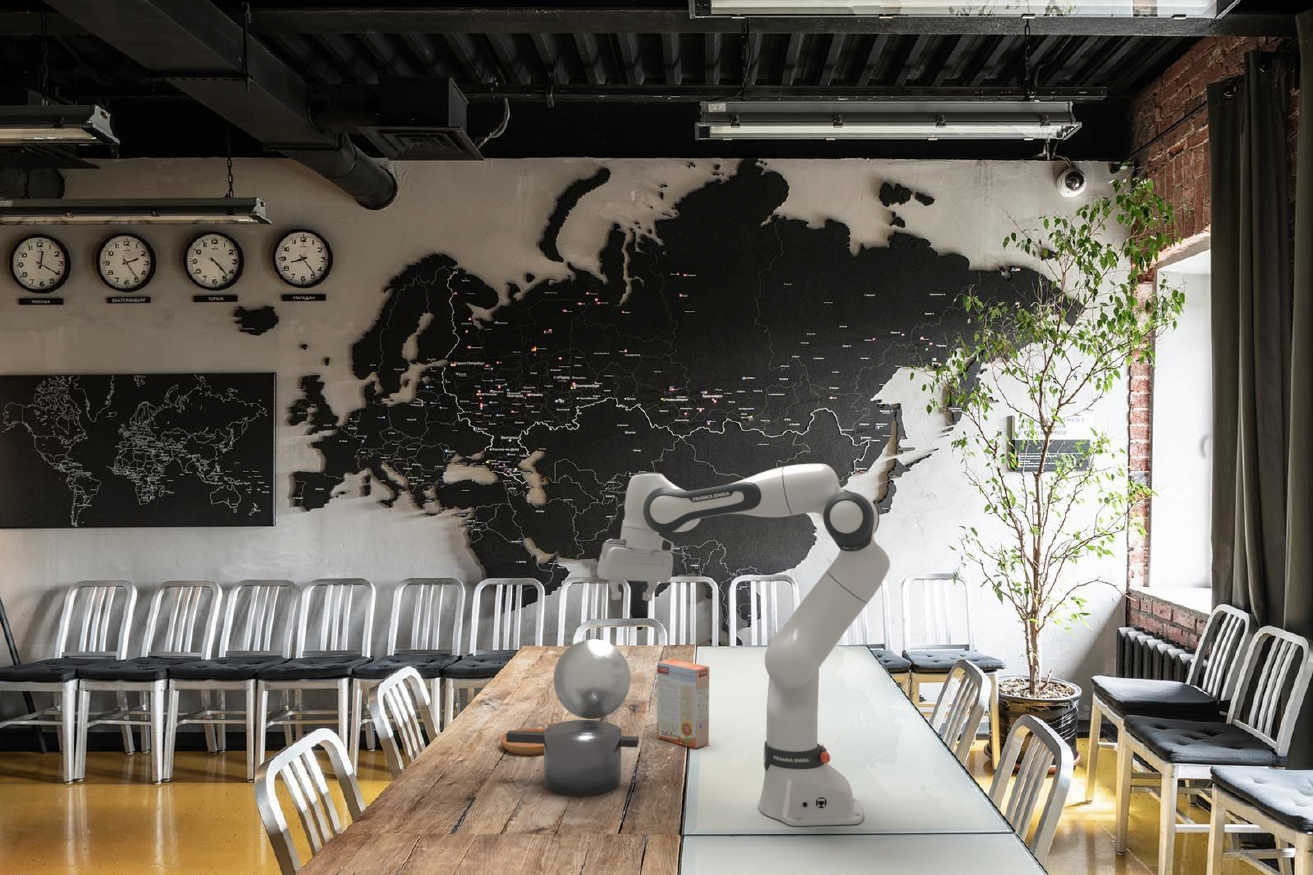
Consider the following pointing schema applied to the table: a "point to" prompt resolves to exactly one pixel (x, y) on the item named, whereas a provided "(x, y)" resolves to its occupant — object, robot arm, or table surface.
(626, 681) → the pot lid
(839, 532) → the robot arm
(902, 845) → the table surface
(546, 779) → the cooking pot
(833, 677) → the table surface
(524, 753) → the saucer
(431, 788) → the table surface
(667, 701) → the cracker box
